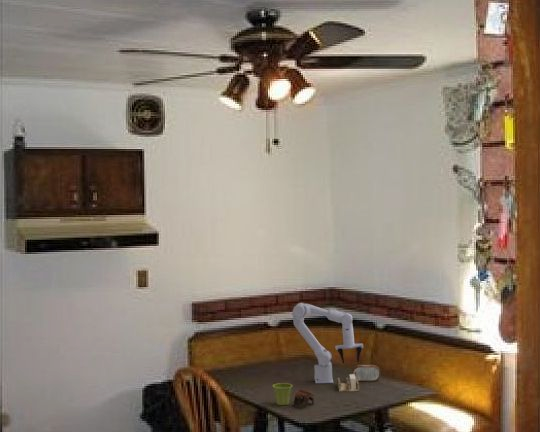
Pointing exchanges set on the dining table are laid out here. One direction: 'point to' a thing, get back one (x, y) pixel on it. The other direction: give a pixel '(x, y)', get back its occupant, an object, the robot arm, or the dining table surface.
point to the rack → (347, 385)
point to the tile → (352, 381)
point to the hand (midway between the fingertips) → (350, 362)
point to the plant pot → (282, 393)
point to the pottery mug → (303, 398)
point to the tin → (366, 372)
